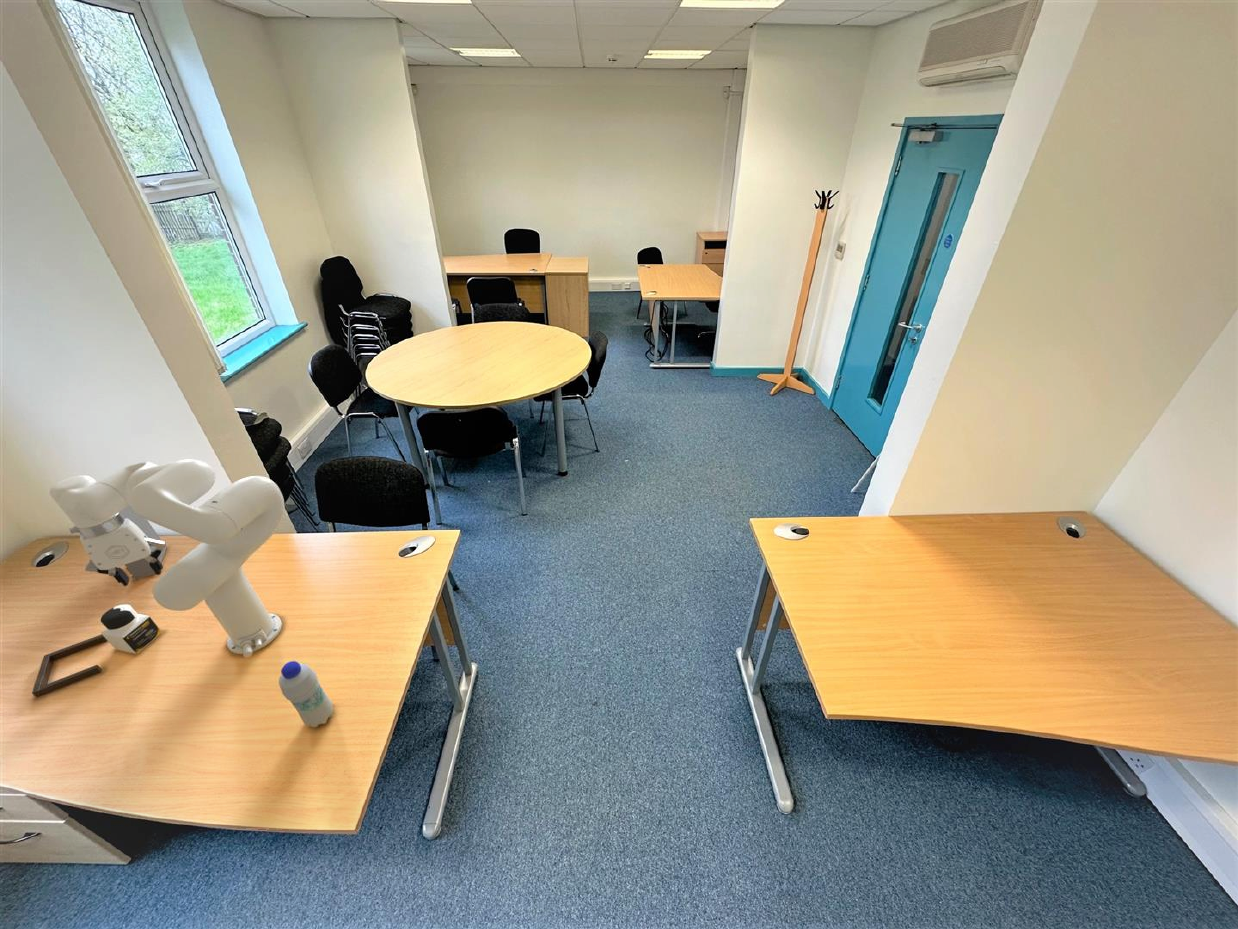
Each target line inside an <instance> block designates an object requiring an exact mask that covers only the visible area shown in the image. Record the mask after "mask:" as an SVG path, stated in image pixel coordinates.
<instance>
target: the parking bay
mask: <svg viewBox="0 0 1238 929" xmlns="http://www.w3.org/2000/svg"><path fill="white" fill-rule="evenodd" d="M106 642H109V641H108V640H107V639H106V638H105V637H104V636H103V635H102V634H99V635H96V636H93V637H91V638H88V639H85V640H83V641H79V642H77V643H74V644H72V645H68V646H66V647H63V648H61V649H57V650H55V651H53V652H50V653H47V654H45V655H43V657H42V661H41V664H40V666H39V670H38V673H37V676H36V679H35V682H34V686H33V687H32V688H33V689H32V691H31V694H32V695H33V696H34V697H36V699H38V698H40V697H43V696H46V695H48V694H51V693H53V692H56V691H58V690H61V689H63V688H66V687H68V686H71V685H73V684H76V683H78V682H80V681H83V680H86V679H88V678H91V677H94V676H96V675H99V674H101V673H102V670H103V669H102V668H101V667H100V666H99V665H98V664H94V665H92V666H90V667H87V668H85V669H83V670H80V671H77V672H74V673H72V674H69V675H67V676H65V677H62V678H59V679H57V680H54V681H52V682H49V679H50V676H51V673H52V669H53V666H54V663H55V661H58V660H61V659H63V658H66V657H69V656H71V655H74V654H77V653H79V652H82V651H84V650H87V649H90V648H92V647H96V646H99V645H100V644H104V643H106Z"/></svg>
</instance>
